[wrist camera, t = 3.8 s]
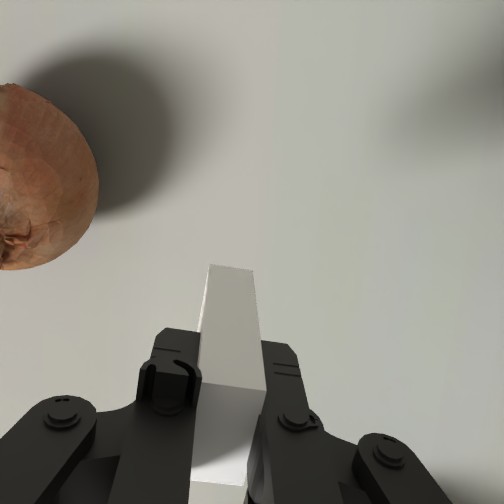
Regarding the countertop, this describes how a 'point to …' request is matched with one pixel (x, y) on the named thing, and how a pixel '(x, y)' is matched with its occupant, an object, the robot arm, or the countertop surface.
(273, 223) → the countertop surface
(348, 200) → the countertop surface
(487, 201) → the countertop surface
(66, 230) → the onion
